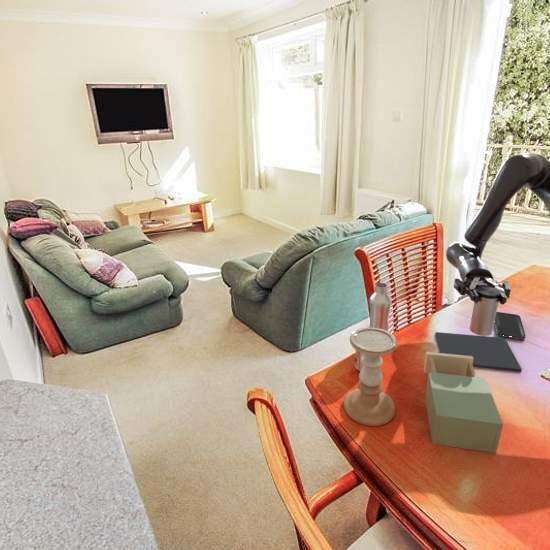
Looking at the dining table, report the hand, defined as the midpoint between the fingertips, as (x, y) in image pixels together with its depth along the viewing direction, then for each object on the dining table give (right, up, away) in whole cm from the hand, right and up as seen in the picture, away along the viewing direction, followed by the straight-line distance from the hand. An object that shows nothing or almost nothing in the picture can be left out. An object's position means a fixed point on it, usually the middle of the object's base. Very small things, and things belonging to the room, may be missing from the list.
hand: (490, 300), depth 95 cm
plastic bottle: (-22, -15, +24) cm, 36 cm away
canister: (+1, -9, +6) cm, 11 cm away
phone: (+22, -11, +28) cm, 37 cm away
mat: (+5, -16, +17) cm, 24 cm away
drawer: (-10, -23, +1) cm, 25 cm away
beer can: (-29, -20, +12) cm, 38 cm away
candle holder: (-31, -27, -2) cm, 41 cm away
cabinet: (-12, -28, -8) cm, 32 cm away
